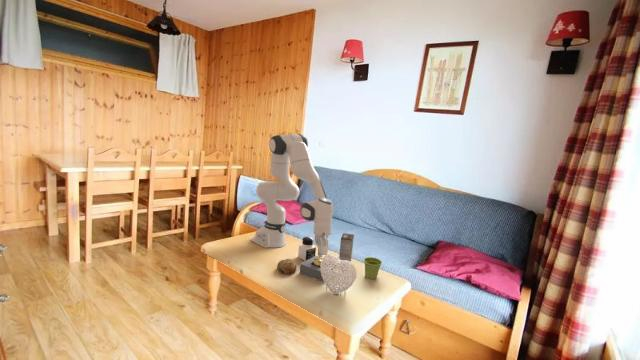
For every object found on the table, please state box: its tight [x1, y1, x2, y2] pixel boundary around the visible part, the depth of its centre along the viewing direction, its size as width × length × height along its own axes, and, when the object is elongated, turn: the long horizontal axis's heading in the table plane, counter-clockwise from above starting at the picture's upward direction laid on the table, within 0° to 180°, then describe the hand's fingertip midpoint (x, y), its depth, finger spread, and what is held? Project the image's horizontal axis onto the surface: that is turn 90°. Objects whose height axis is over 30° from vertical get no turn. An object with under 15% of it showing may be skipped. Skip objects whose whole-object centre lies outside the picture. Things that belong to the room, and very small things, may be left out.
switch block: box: [299, 255, 336, 283], centre depth 162 cm, size 14×14×5 cm
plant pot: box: [363, 256, 383, 280], centre depth 163 cm, size 9×9×9 cm
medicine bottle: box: [297, 236, 317, 262], centre depth 178 cm, size 7×7×12 cm
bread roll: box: [276, 258, 297, 276], centre depth 161 cm, size 10×10×8 cm
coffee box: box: [338, 232, 355, 266], centre depth 175 cm, size 9×6×16 cm
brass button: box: [313, 257, 324, 267], centre depth 161 cm, size 6×6×4 cm
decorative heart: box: [320, 254, 357, 298], centre depth 142 cm, size 18×11×17 cm, turn 53°
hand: (319, 256), depth 161 cm, fingers closed
